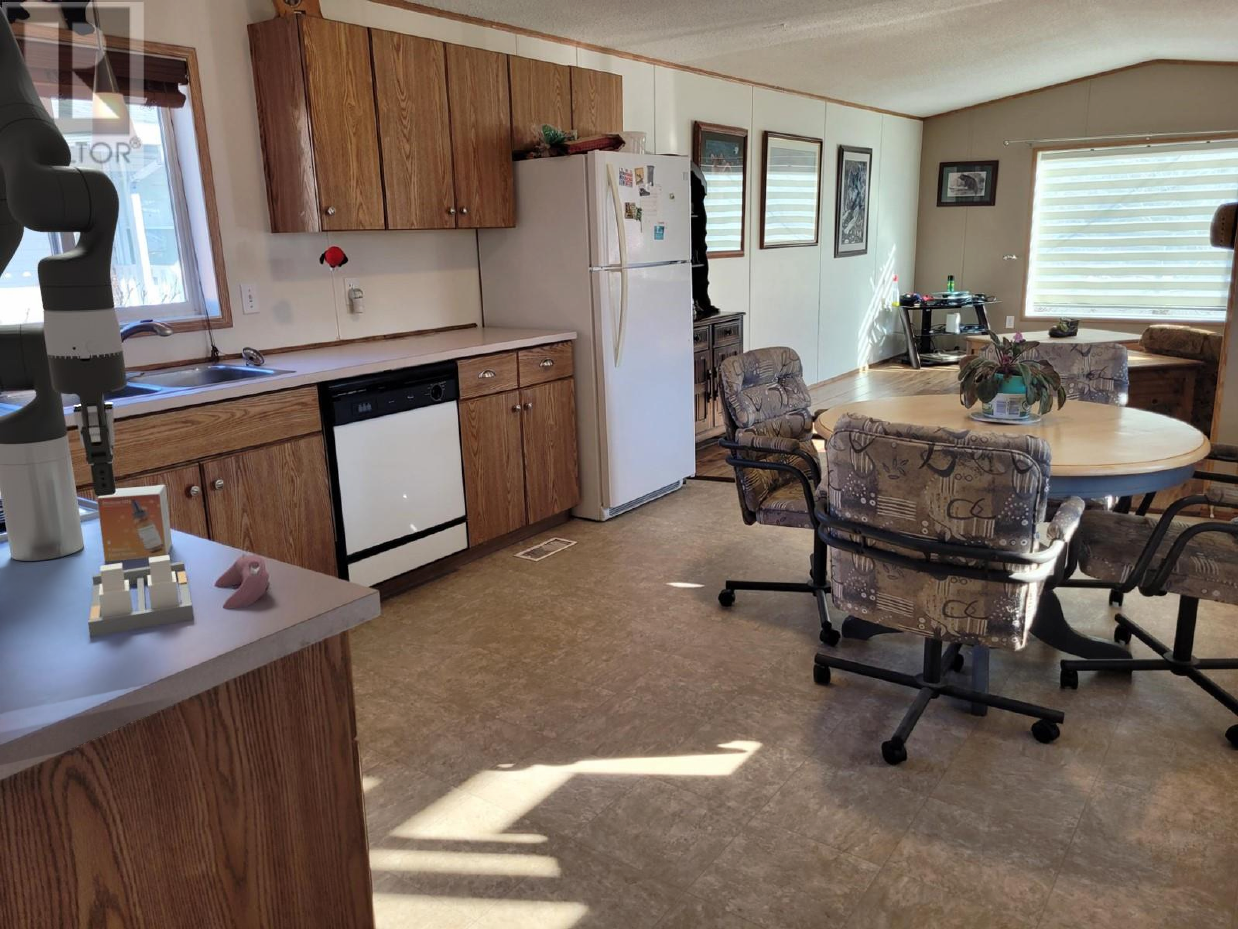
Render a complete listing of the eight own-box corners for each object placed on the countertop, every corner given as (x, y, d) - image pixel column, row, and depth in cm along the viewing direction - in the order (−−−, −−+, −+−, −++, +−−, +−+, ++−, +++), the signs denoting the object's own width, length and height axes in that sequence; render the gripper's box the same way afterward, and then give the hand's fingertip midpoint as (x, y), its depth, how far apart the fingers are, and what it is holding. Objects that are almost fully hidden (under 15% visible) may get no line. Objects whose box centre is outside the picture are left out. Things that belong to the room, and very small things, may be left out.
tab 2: (151, 606, 109) (144, 555, 108) (178, 601, 111) (172, 551, 109) (152, 617, 106) (145, 566, 104) (180, 613, 107) (174, 561, 106)
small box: (105, 570, 125) (94, 498, 123) (113, 557, 130) (103, 487, 128) (168, 564, 127) (159, 493, 125) (174, 552, 133) (165, 483, 130)
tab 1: (104, 615, 107) (96, 563, 105) (133, 610, 108) (125, 559, 106) (103, 627, 103) (95, 574, 102) (133, 622, 104) (125, 570, 103)
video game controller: (257, 625, 111) (280, 573, 111) (220, 617, 108) (243, 563, 108) (245, 599, 119) (266, 550, 119) (210, 590, 117) (231, 540, 117)
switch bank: (94, 593, 117) (91, 571, 116) (187, 578, 122) (184, 557, 121) (89, 652, 100) (85, 627, 99) (197, 633, 105) (194, 609, 104)
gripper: (50, 344, 107) (71, 484, 111) (42, 358, 95) (66, 513, 100) (121, 340, 110) (139, 477, 114) (122, 354, 99) (142, 504, 103)
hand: (105, 493), depth 107 cm, fingers closed
